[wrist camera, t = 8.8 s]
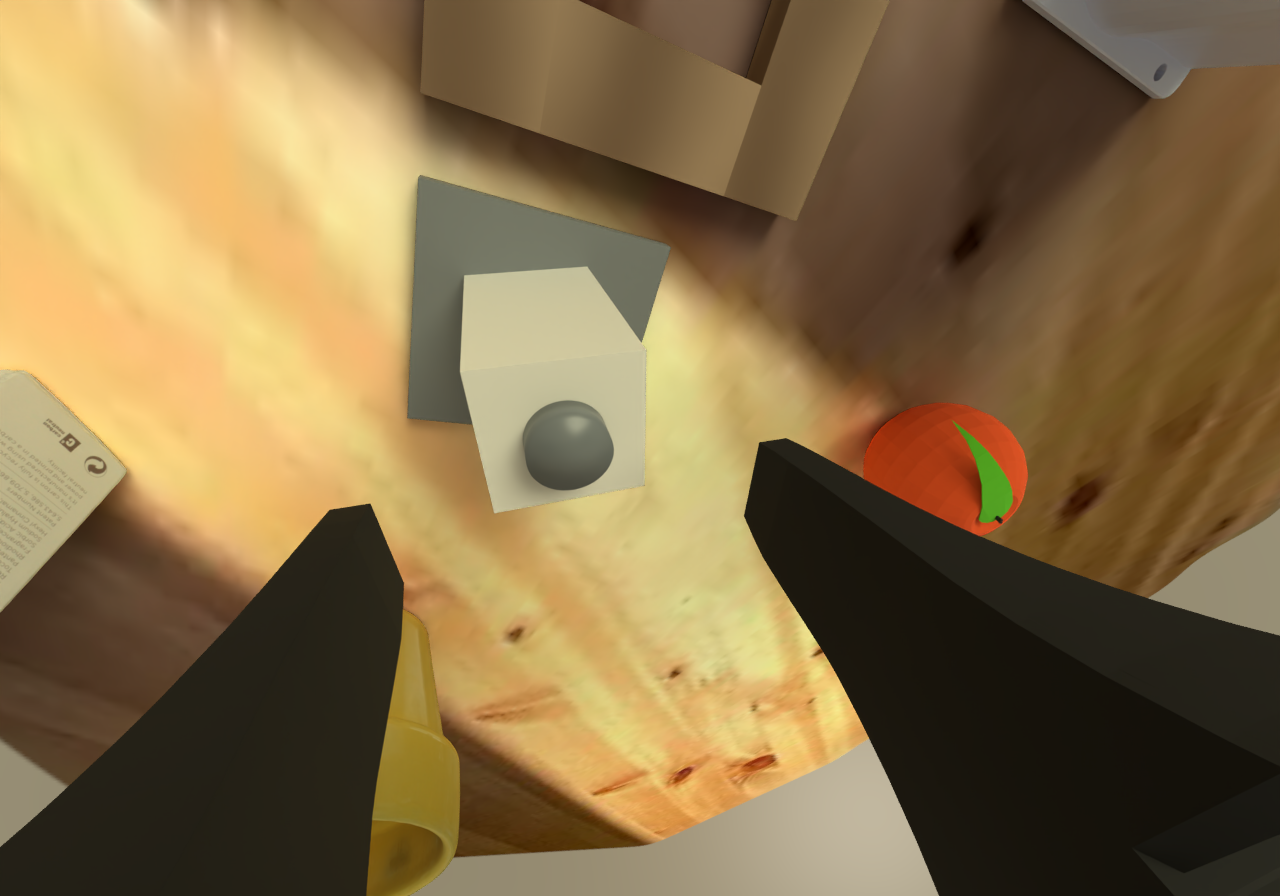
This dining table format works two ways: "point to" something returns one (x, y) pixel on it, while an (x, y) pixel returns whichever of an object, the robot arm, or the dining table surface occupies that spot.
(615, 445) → the plug
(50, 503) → the skincare box
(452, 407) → the coaster
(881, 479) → the clementine
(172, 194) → the dining table surface
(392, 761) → the plant pot
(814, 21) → the holder
